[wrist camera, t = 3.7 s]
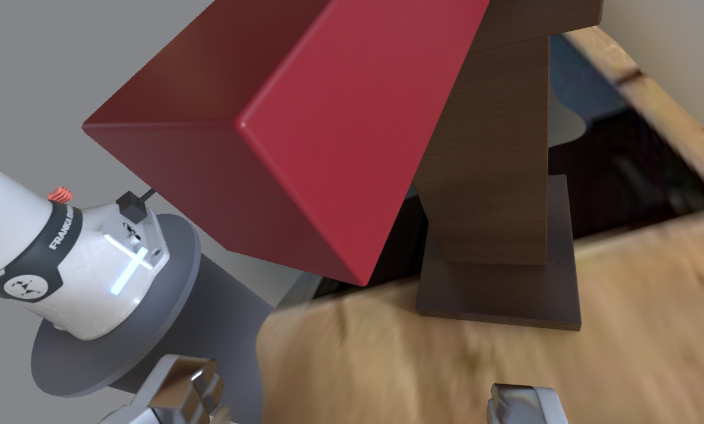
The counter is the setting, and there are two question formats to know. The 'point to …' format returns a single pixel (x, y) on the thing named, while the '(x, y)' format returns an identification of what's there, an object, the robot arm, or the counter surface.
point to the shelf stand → (501, 179)
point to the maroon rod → (293, 122)
